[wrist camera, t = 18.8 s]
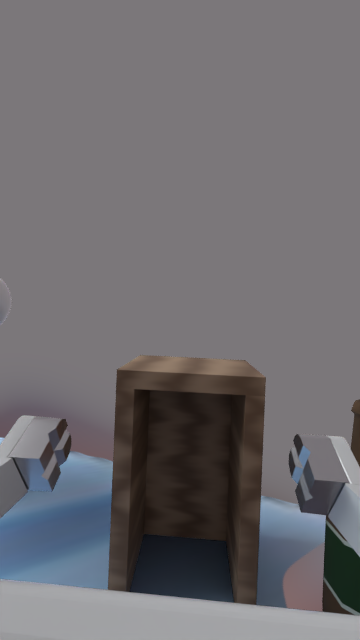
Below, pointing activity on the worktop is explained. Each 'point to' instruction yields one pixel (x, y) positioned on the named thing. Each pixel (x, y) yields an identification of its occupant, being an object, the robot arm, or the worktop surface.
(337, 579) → the beer bottle
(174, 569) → the worktop surface
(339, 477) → the robot arm
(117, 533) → the shelf
